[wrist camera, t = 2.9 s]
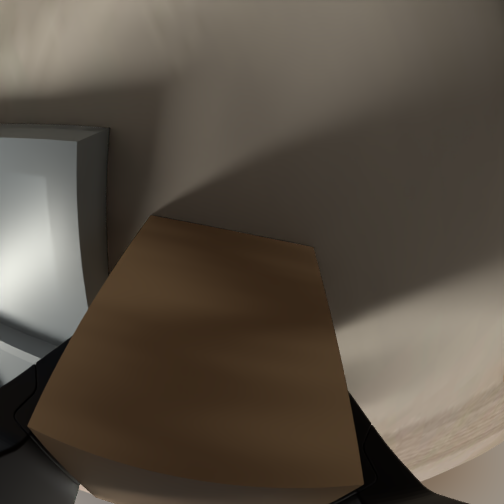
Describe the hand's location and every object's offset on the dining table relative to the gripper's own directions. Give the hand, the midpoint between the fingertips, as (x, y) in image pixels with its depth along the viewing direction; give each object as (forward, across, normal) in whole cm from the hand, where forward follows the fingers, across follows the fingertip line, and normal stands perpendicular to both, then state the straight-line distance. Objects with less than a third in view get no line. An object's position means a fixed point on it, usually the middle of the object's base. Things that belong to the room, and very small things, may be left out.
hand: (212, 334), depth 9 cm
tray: (+2, +10, +5) cm, 11 cm away
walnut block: (+2, 0, 0) cm, 2 cm away
